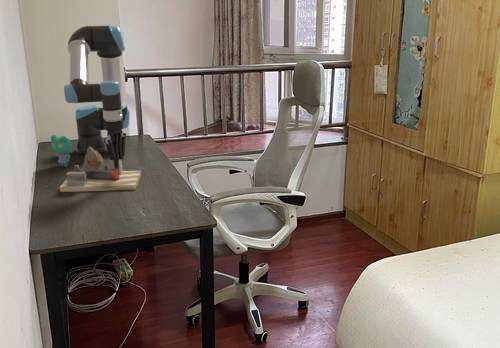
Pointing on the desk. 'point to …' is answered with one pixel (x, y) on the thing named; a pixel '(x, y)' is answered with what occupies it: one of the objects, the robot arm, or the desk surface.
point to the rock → (93, 160)
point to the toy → (61, 148)
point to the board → (99, 181)
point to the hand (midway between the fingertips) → (119, 174)
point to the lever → (102, 173)
